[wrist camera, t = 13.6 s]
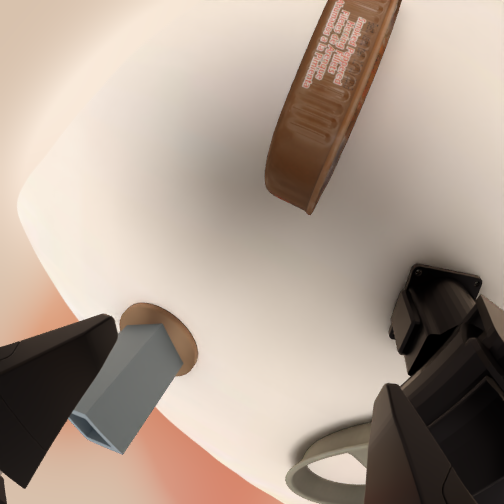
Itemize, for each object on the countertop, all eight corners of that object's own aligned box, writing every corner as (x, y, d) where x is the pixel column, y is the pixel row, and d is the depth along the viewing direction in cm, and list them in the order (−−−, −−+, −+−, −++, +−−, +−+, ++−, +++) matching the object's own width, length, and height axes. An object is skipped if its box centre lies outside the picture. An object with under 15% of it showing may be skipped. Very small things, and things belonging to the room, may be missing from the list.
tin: (320, 199, 19) (311, 244, 11) (277, 179, 19) (237, 210, 11) (399, 11, 12) (430, -50, 4) (355, -7, 12) (361, -78, 5)
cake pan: (322, 393, 25) (317, 429, 21) (498, 408, 21) (506, 435, 17) (275, 475, 36) (269, 498, 32) (407, 488, 31) (407, 508, 27)
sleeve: (162, 323, 26) (85, 414, 15) (183, 363, 27) (122, 454, 16) (126, 325, 27) (53, 401, 17) (147, 361, 29) (87, 439, 18)
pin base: (195, 317, 25) (168, 354, 20) (199, 381, 29) (179, 416, 24) (117, 293, 27) (84, 321, 22) (131, 356, 31) (106, 384, 26)
